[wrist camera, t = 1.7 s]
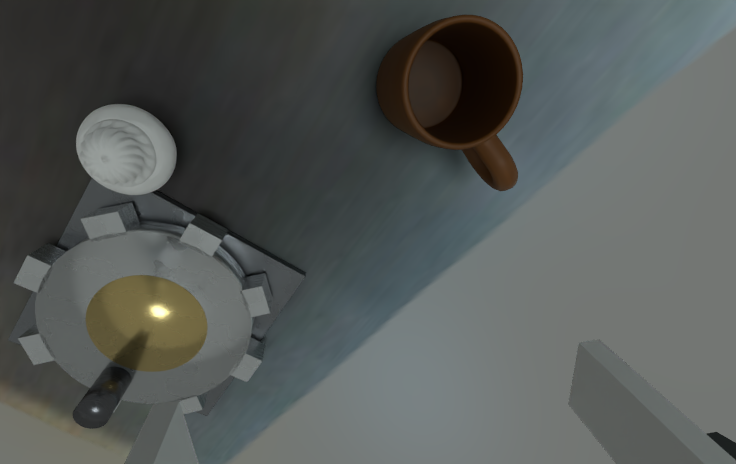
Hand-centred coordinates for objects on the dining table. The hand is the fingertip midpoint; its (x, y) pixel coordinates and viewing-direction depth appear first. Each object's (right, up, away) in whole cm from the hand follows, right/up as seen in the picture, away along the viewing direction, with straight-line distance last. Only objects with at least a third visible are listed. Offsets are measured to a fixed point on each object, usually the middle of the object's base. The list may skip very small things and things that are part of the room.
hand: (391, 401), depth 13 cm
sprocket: (-19, -1, +21) cm, 28 cm away
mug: (+5, +16, +19) cm, 25 cm away
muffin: (-18, +12, +17) cm, 28 cm away
